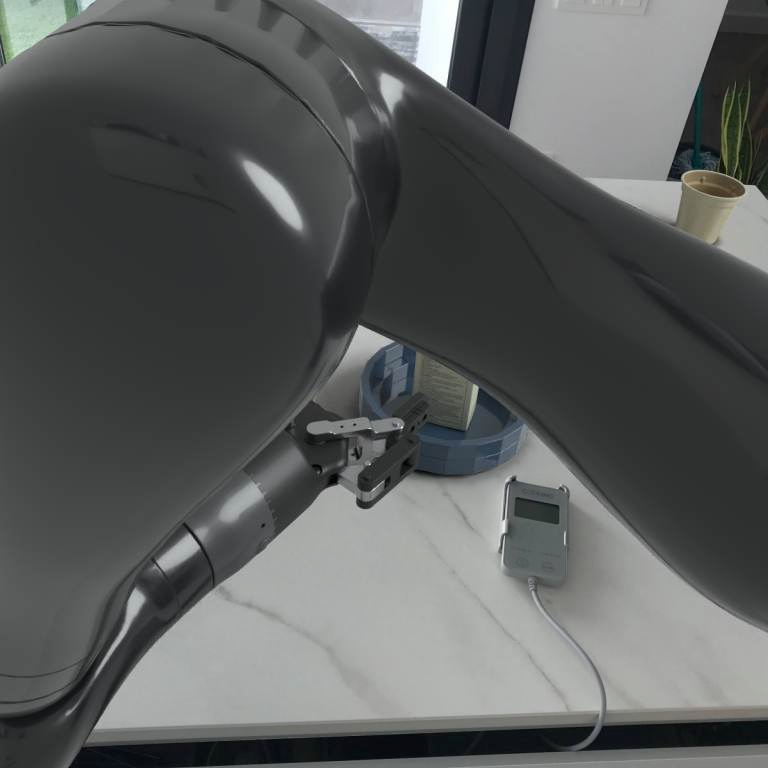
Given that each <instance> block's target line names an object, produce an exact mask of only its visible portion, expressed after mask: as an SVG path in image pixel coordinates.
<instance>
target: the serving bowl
mask: <svg viewBox="0 0 768 768" xmlns="http://www.w3.org/2000/svg"><path fill="white" fill-rule="evenodd" d="M415 362H416V351H414V350H412V349H410V348H408V347H405V346H403V345H401V344H399V343H397V342H395V341H393V342H391V343H389V344H387V345H384V346H383V347H380V348H379V349H378V350H377V351H376V352H375V353H373V355H372V356H371V357H370V358H369V359H368V360H367V361H366V363H365V366H364V368H363V370H362V373H361V375H360V383H359V396H358V399H359V400H358V412H359V418H361V417H367V418H368V419H369V420H370V421H376V420H382V419H389V418H392V414H394V413H395V412H396V411H397V410H398V409H399V408H400V407H401V406H402V405H404V404H405V403H406V402H407V401H408V400H409V399H410V398H411V397H412V393H413V383H414V372H415ZM528 431H529V428H528V427H527V426H526V425H525V424H524V423H523V422H522V421H521V420H520V419H519V418H518V417H517V416H516V415H514V414H513V413H512V412H511V411H509V410H508V409H507V408H506V407H504V406H503V405H502V404H501V403H499V402H498V401H497V400H496V399H494V398H493V397H492V396H491V395H489V394H488V393H487V392H485V391H484V390H482V389H481V388H478V394H477V400H476V406H475V410H474V413H473V416H472V419H471V421H470V424H469V426H468V429H467V431H462V430H458V429H454V428H450V427H445V426H441V425H437V424H433V423H429V422H426V423H425V424H424V425H423V426H422V427H421V428H420V429H419V430H418V431H417V432H416V433H415V435H417V436H419V437H420V439H421V442H420V450H419V457H418V465H417V468H416V469H415V470H418V471H425V472H429V473H434V474H439V475H446V476H448V475H449V476H450V475H473V474H476V473H480V472H484V471H488V470H491V469H494V468H497V467H499V466H500V465H502V464H503V463H505V462H507V461H508V460H510V459H512V458H513V457H514V456H515V455H516V454H517V452H518V451H519V450H520V448H521V446H522V445H523V444H524V443H525V441H526V438H527V434H528ZM382 439H386V436H382V437H377V438H375V439H374V440H373V441H376V440H382Z"/></svg>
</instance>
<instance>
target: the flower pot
mask: <svg viewBox="0 0 768 768" xmlns="http://www.w3.org/2000/svg"><path fill="white" fill-rule="evenodd" d="M680 182H681V195H680V200H679V205H678V209H677V210H678V211H677V215H676V219H675V223H674V227H676V228H679V229H681V230H683V231H685V232H687V233H689V234H691V235H693V236H695V237H698V238H700V239H702V240H704V241H706V242H708V243H710V244H712V245H713V244H714V243H715V242H716V241H717V239H718V238H719V236H720V233H721V232H722V230H723V228H724V226H726V225H725V224H727V221H728V220H729V218H730V216H731V214H732V213H733V211H734V209H735V207H736V206H737V205H739V204H740V202H741V200H742V199H744V198H745V197H746V196H747V195H748V193H749V192H748V188H747V187H746V186H745V184H743V182H742V181H740V180H738V179H736V178H735V177H732V176H730V175H727V174H724V173H721V172H716V171H713V170H706V169H694V170H693V169H692V170H688V171H686V172H684V173H683V174H681V177H680Z"/></svg>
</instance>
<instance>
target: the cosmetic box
mask: <svg viewBox="0 0 768 768" xmlns="http://www.w3.org/2000/svg"><path fill="white" fill-rule="evenodd" d="M478 388H479V387H478V386H476V385H475V384H473V383H472V382H470V381H469V380H467V379H466V378H464V377H463V376H461V375H459V374H458V373H456V372H454V371H452V370H451V369H449V368H447V367H445V366H443V365H442V364H440V363H438V362H436V361H434V360H433V359H431V358H429V357H427V356H425V355H422V354H420V353H418V352H416V362H415V372H414V383H413V393H412V397H413V396H414V395H415V394H416V393H417V392H418V391H420V392H422V393H424V394H426V395H428V402H427V403H429V411H428V418H427V421H426V422H429V423H433V424H437V425H441V426H445V427H450V428H454V429H458V430H462V431H467V429H468V426H469V424H470V421H471V419H472V416H473V413H474V410H475V406H476V400H477V394H478Z"/></svg>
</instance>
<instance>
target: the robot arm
mask: <svg viewBox="0 0 768 768" xmlns="http://www.w3.org/2000/svg"><path fill="white" fill-rule="evenodd" d="M359 326H361V327H363V328H365V329H367V330H368V331H371V332H374V333H376V334H378V335H380V336H382V337H384V338H386V339H388V340H391V341H393V342H397V343H399V344H401V345H403V346H405V347H408V348H410V349H412V350H414V351H416V352H418V353H420V354H422V355H425V356H427V357H429V358H431V359H433V360H434V361H436V362H438V363H440V364H442V365H443V366H445V367H447V368H449V369H451V370H452V371H454V372H456V373H458V374H459V375H461V376H463V377H464V378H466V379H467V380H469V381H470V382H472V383H473V384H475V385H476V386H478V387H479V388H481V389H482V390H484V391H485V392H487V393H488V394H489V395H491V396H492V397H493V398H494V399H496V400H497V401H498V402H499V403H501V404H502V405H503V406H504V407H506V408H507V409H508V410H509V411H511V412H512V413H513V414H514V415H516V416H517V417H518V418H519V419H520V420H521V421H522V422H523V423H524V424H525V425H526V426H527V427H528V430H530V431H531V432H532V433H533V434H534V435H535V436H536V437H537V438H538V439H539V440H540V441H541V442H542V443H543V444H544V445H545V446H546V447H547V448H548V449H549V450H550V451H551V453H553V454H554V456H555V457H556V458H557V459H558V460H559V461H560V462H561V463H562V464H563V465H564V466H565V468H567V469H568V470H569V472H570V473H571V474H572V475H573V476H574V477H575V478H576V479H577V480H578V481H579V483H580V484H581V485H583V487H584V488H585V489H586V490H587V491H588V492H589V493H590V494H591V495H592V496H593V497H594V498H595V499H596V500H597V501H598V502H599V503H600V504H601V505H602V506H603V507H604V508H605V510H607V511H608V513H610V515H612V516H613V518H615V519H616V521H618V522H619V523H620V524H621V525H622V526H623V527H624V528H625V529H626V530H627V531H628V532H629V533H630V534H631V535H632V536H633V537H634V538H635V539H636V540H637V541H638V542H639V543H640V544H641V545H642V546H643V547H644V548H645V549H646V550H647V551H648V552H649V553H650V554H652V556H654V557H655V558H656V560H658V561H659V562H660V563H661V564H662V565H663V566H664V567H666V569H668V570H669V571H670V572H671V573H672V574H673V575H674V576H676V577H677V578H678V579H679V580H680V581H682V582H683V583H684V584H685V585H686V586H688V588H690V589H692V590H693V591H694V592H696V593H697V594H698V595H700V596H701V597H703V598H704V599H706V600H707V601H709V602H711V603H712V604H714V605H715V606H717V607H718V608H720V609H722V610H723V611H725V612H726V613H728V614H730V615H731V616H733V617H734V618H736V619H738V620H740V621H742V622H743V623H746V624H748V625H749V626H751V627H754V628H755V629H758V630H760V631H762V632H765V633H766V634H768V271H766V270H763V269H762V268H759V267H758V266H756V265H755V264H752V263H750V262H748V261H746V260H744V259H742V258H740V257H737V256H735V255H733V254H731V253H730V252H728V251H725V250H723V249H722V248H720V247H718V246H715V245H713V243H712V244H710V243H708V242H706V241H704V240H702V239H700V238H698V237H695V236H693V235H691V234H689V233H687V232H685V231H683V230H681V229H679V228H676V227H675V225H673V224H670V223H668V222H666V221H664V220H662V219H660V218H658V217H656V216H654V215H652V214H650V213H648V212H645V211H643V209H640V208H638V207H636V206H633V205H632V204H630V203H628V202H626V201H624V200H622V199H620V198H618V197H616V196H615V195H613V194H611V193H609V192H607V191H606V190H604V189H603V188H601V187H599V186H597V185H596V184H594V183H592V182H590V181H589V180H587V179H585V178H583V177H582V176H580V175H578V174H577V173H575V172H574V171H572V170H571V169H569V168H568V167H566V166H564V165H563V164H561V163H559V162H558V161H557V160H554V159H553V158H552V157H550V156H549V155H547V154H545V153H544V152H542V151H540V150H539V149H537V148H536V147H534V146H533V145H532V144H530V143H529V142H527V141H526V140H524V139H523V138H521V137H519V136H518V135H516V134H515V133H514V132H512V131H511V130H509V129H507V128H506V127H504V126H503V125H502V124H500V123H499V122H497V121H496V120H494V119H493V118H491V117H490V116H489V115H487V114H486V113H484V112H482V111H481V110H480V109H479V108H477V107H476V106H474V105H473V104H471V103H470V102H468V101H466V100H465V99H464V98H462V97H461V96H459V95H458V94H457V93H455V92H453V91H452V90H450V89H449V88H447V86H445V85H443V84H442V83H440V82H439V81H438V80H436V79H435V78H434V77H432V76H430V75H429V74H428V73H426V72H425V71H424V70H422V69H421V68H419V67H418V66H416V65H414V64H413V63H412V62H410V61H409V60H407V59H406V58H405V57H403V56H402V55H400V54H399V53H397V52H396V51H395V50H393V49H391V48H390V47H388V46H387V45H385V44H384V43H383V42H382V41H380V40H378V39H376V38H375V37H374V36H372V35H371V34H369V33H368V32H367V31H365V30H364V29H363V28H361V27H360V26H358V25H356V24H354V23H353V22H352V21H350V20H348V18H345V17H344V16H342V15H341V14H340V13H338V12H337V11H335V10H333V9H332V8H330V7H328V6H327V5H325V4H323V3H322V2H320V1H319V0H95V1H93V2H91V3H90V4H89V5H88V6H87V7H86V8H85V9H84V10H82V11H81V12H80V13H78V14H77V15H75V16H74V17H72V18H71V19H69V20H68V21H67V22H65V23H64V24H62V25H61V26H59V27H58V28H57V29H55V30H53V31H52V32H50V33H49V34H48V35H46V36H45V37H43V38H42V39H41V40H39V41H38V42H36V43H35V44H33V45H32V46H30V47H27V49H25V50H23V51H20V53H18V54H17V55H16V56H14V57H13V58H12V59H10V60H9V61H8V62H7V63H5V64H4V65H2V66H1V67H0V768H69V767H70V766H71V765H72V763H73V761H74V760H75V759H76V757H77V755H79V753H80V751H81V749H82V748H83V747H84V745H85V744H86V742H87V740H88V739H89V738H90V735H91V734H92V732H93V730H95V727H96V726H97V725H98V722H99V721H100V719H101V718H102V716H103V715H104V713H105V711H106V710H107V708H108V706H109V705H110V704H111V702H112V700H113V699H114V697H115V696H116V694H117V693H118V691H119V690H120V688H121V687H122V686H123V684H124V683H125V681H126V680H127V678H128V677H129V676H130V674H131V673H132V672H133V670H134V669H135V668H136V666H138V664H139V663H140V662H141V660H142V659H143V658H144V657H145V656H146V655H147V654H148V653H149V651H150V650H151V649H152V648H153V647H154V645H155V644H156V643H157V642H158V641H159V640H160V639H161V638H163V636H164V635H165V634H167V632H168V631H169V630H170V629H172V627H173V626H175V624H176V623H178V621H180V620H181V619H182V618H183V617H184V616H185V615H187V613H189V612H190V611H191V610H192V609H193V608H194V607H195V606H196V605H197V604H198V603H199V602H201V600H203V599H204V598H205V597H206V596H207V595H208V594H209V593H210V592H212V591H214V590H215V589H216V588H217V587H218V586H219V585H221V584H222V583H223V582H225V581H227V580H228V579H229V578H231V577H232V576H234V575H236V573H238V572H240V571H241V570H242V569H243V568H245V567H246V566H247V565H248V564H249V563H250V562H251V561H252V560H254V559H255V557H256V556H258V555H259V554H261V553H262V552H263V551H265V550H266V548H267V547H268V546H269V545H270V544H271V543H272V542H273V540H276V538H277V537H279V535H280V534H281V533H283V532H284V531H285V530H286V529H287V528H288V527H289V526H290V525H292V524H293V523H294V522H295V521H296V520H297V519H298V518H299V517H300V516H301V515H302V514H303V513H305V512H306V511H307V510H308V509H309V508H310V507H311V506H312V505H313V503H314V502H315V501H316V500H317V498H318V497H319V496H320V495H321V493H322V492H324V491H325V490H327V489H329V488H332V487H335V486H338V485H340V486H341V487H343V488H345V489H346V490H347V491H349V492H351V493H352V494H354V495H355V496H356V497H355V498H356V499H355V504H356V506H357V507H358V508H359V509H362V510H369V509H372V508H373V507H374V506H375V505H376V504H378V503H379V502H380V501H381V500H382V499H383V498H384V497H386V496H387V495H388V494H389V493H390V492H391V491H392V490H394V489H395V488H396V487H397V486H398V485H399V484H400V483H402V481H404V480H405V479H406V478H407V477H408V476H409V475H411V474H412V473H413V472H414V471H415V470H417V469H416V468H417V465H418V457H419V450H420V442H421V439H420V437H419V436H417V435H415V433H416V432H417V431H418V430H419V429H420V428H421V427H422V426H423V425H424V424H425V423H426V421H427V418H428V411H429V403H427V402H428V395H426V394H424V393H422V392H420V391H418V392H417V393H416V394H415V395H414V396H413V397H411V398H410V399H409V400H408V401H407V402H406V403H405V404H404V405H402V406H401V407H400V408H399V409H398V410H397V411H396V412H395V413H394V414H392V418H389V419H382V420H376V421H370V420H369V419H368V418H367V417H361V418H360V417H356V418H355V417H354V418H349V419H345V417H343V416H341V415H339V414H337V413H335V412H332V411H328V410H326V409H325V408H323V407H322V406H321V405H320V404H319V403H318V402H316V401H315V402H314V401H312V399H313V398H314V397H315V395H316V396H317V394H318V393H319V392H320V391H321V390H322V389H323V388H324V386H325V385H326V384H327V383H328V382H329V380H330V378H332V376H333V374H334V373H335V372H336V370H337V369H338V367H339V366H340V364H341V363H342V361H343V359H344V357H345V356H346V354H347V353H348V350H349V348H350V346H351V344H352V342H353V339H354V337H355V335H356V333H357V331H358V328H359ZM382 436H386V439H382V440H376V441H373V440H374V439H375V438H377V437H382ZM353 437H357V442H356V443H357V444H356V445H355V446H354V447H353V448H350V449H349V447H350V446H349V445H350V438H353ZM357 466H358V467H357Z"/></svg>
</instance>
